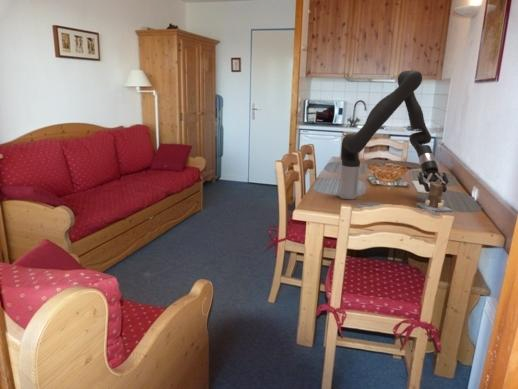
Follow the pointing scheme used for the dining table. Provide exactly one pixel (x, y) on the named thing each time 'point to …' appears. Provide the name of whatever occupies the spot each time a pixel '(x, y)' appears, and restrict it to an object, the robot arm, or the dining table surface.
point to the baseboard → (420, 187)
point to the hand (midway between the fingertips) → (436, 191)
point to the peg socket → (440, 208)
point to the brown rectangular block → (435, 194)
